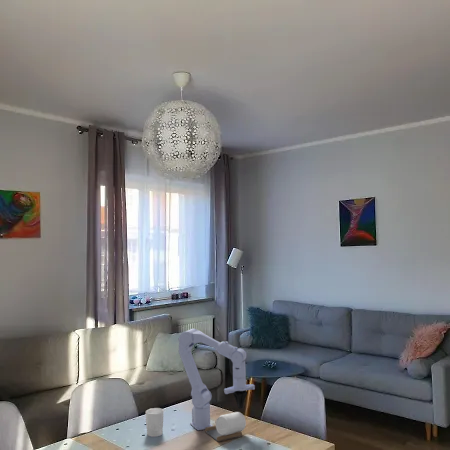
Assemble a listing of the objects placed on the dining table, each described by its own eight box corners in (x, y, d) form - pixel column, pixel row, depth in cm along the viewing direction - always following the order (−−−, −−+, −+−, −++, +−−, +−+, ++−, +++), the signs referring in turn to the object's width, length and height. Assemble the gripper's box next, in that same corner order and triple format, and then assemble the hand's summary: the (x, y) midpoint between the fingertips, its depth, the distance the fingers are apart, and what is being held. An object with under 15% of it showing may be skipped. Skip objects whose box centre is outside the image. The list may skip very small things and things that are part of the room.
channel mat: (205, 431, 204) (205, 427, 204) (228, 426, 209) (228, 422, 210) (217, 442, 193) (217, 437, 193) (242, 436, 198) (242, 432, 198)
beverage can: (248, 429, 200) (231, 433, 191) (234, 433, 204) (217, 437, 195) (244, 409, 203) (226, 413, 194) (230, 414, 207) (212, 417, 198)
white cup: (167, 432, 205) (166, 409, 206) (157, 438, 198) (157, 414, 198) (152, 429, 208) (152, 407, 209) (142, 436, 201) (142, 412, 202)
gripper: (228, 381, 200) (229, 413, 199) (257, 376, 206) (258, 407, 205) (221, 377, 206) (222, 408, 205) (250, 373, 212) (250, 403, 211)
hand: (240, 407), depth 205 cm, fingers closed
